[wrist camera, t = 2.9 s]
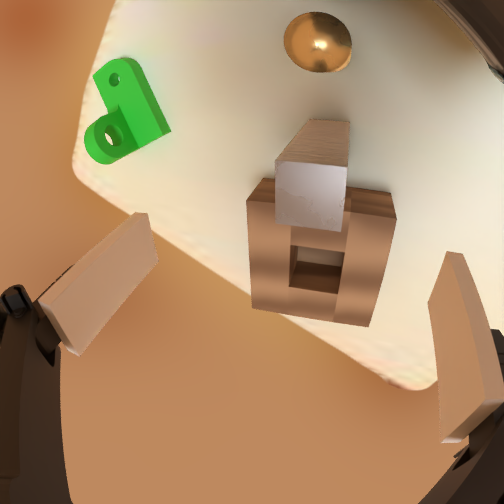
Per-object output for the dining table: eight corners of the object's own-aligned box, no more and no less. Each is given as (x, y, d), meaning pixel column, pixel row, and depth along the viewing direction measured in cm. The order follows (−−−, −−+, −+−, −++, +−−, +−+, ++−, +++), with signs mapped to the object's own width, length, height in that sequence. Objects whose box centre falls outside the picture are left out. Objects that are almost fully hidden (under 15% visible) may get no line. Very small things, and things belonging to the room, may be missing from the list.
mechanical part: (171, 130, 34) (130, 150, 27) (138, 149, 36) (97, 171, 30) (133, 49, 28) (86, 53, 22) (102, 73, 31) (57, 84, 25)
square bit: (309, 118, 28) (275, 160, 16) (349, 122, 27) (347, 167, 15) (309, 155, 30) (275, 223, 19) (347, 159, 29) (341, 231, 18)
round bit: (308, 33, 23) (282, 11, 14) (350, 35, 22) (350, 13, 13) (309, 70, 25) (284, 71, 16) (351, 73, 24) (351, 75, 15)
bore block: (263, 178, 33) (246, 200, 29) (390, 193, 30) (396, 218, 25) (265, 277, 41) (252, 308, 37) (369, 293, 38) (368, 327, 33)
